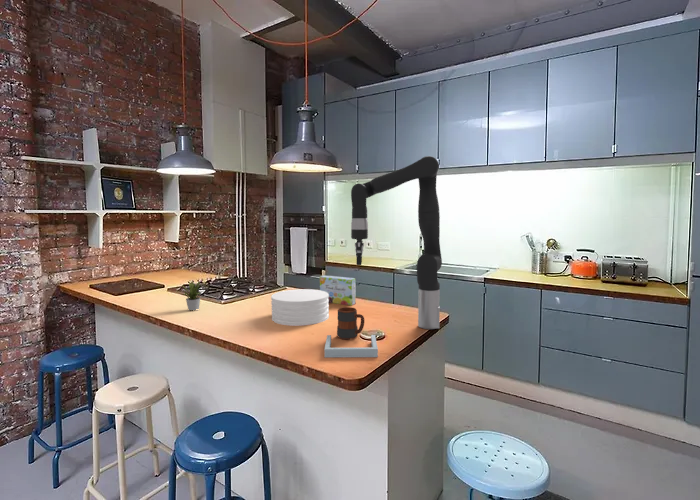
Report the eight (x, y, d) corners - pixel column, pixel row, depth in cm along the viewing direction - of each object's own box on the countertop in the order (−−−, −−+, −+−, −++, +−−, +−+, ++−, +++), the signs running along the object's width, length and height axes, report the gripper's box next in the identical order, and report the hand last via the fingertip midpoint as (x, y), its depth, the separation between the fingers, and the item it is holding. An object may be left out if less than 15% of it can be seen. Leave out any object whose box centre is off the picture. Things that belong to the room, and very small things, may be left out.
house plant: (215, 308, 205) (214, 278, 203) (194, 314, 192) (193, 283, 191) (197, 305, 211) (196, 277, 210) (176, 311, 199) (174, 281, 197)
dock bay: (375, 342, 149) (375, 334, 149) (377, 357, 134) (377, 348, 134) (327, 342, 149) (327, 335, 149) (324, 357, 134) (324, 349, 134)
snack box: (319, 302, 218) (319, 276, 217) (324, 300, 223) (324, 275, 222) (351, 306, 208) (351, 279, 207) (356, 303, 213) (356, 277, 212)
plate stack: (338, 320, 181) (338, 296, 180) (283, 329, 167) (282, 304, 166) (314, 307, 205) (314, 287, 204) (264, 315, 192) (263, 292, 190)
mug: (360, 342, 149) (359, 313, 148) (333, 338, 154) (333, 310, 153) (368, 336, 157) (368, 308, 156) (342, 332, 162) (342, 305, 161)
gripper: (367, 229, 163) (367, 266, 164) (367, 228, 177) (367, 262, 179) (350, 228, 163) (350, 265, 165) (352, 227, 178) (351, 261, 179)
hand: (359, 263), depth 172 cm, fingers open, 8 cm apart
